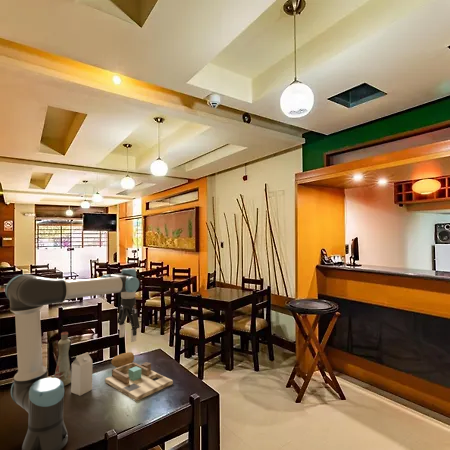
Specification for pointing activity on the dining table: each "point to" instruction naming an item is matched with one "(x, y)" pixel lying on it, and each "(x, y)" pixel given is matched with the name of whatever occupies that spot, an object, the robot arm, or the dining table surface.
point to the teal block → (135, 373)
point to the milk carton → (81, 374)
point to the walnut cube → (147, 365)
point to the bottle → (63, 360)
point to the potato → (122, 359)
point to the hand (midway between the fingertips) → (127, 339)
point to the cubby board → (137, 381)
